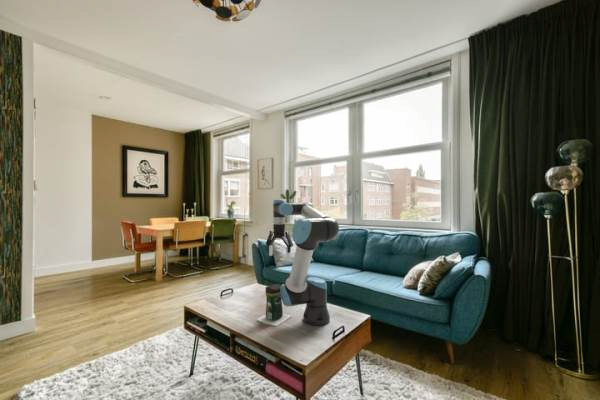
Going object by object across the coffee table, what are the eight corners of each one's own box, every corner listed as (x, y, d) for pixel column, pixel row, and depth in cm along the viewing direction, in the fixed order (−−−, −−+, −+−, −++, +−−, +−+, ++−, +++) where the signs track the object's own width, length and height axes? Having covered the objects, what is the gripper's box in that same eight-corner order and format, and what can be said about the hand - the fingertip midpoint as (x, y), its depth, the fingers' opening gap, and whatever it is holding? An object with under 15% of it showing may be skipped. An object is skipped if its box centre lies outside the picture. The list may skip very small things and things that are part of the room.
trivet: (291, 317, 158) (291, 315, 158) (276, 326, 146) (276, 325, 146) (272, 312, 166) (272, 310, 166) (256, 320, 154) (256, 319, 154)
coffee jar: (275, 312, 162) (275, 281, 162) (284, 316, 157) (284, 284, 157) (263, 317, 155) (262, 285, 156) (272, 322, 150) (272, 288, 150)
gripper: (298, 224, 172) (298, 257, 172) (267, 222, 185) (267, 253, 185) (292, 225, 166) (292, 259, 165) (260, 223, 179) (260, 255, 179)
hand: (279, 256), depth 175 cm, fingers open, 13 cm apart
